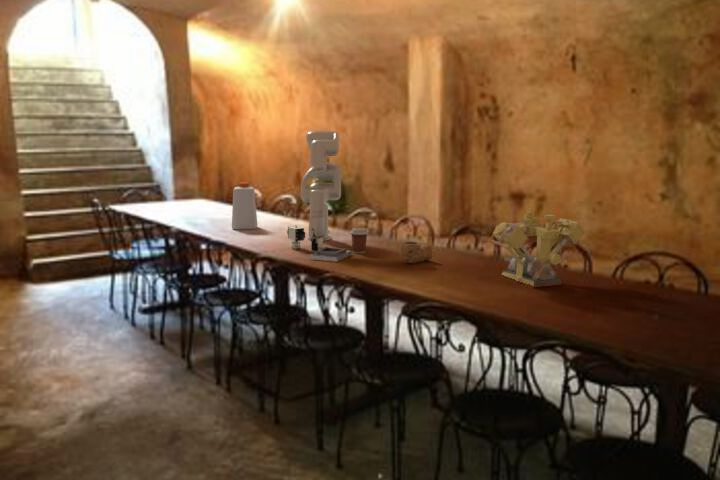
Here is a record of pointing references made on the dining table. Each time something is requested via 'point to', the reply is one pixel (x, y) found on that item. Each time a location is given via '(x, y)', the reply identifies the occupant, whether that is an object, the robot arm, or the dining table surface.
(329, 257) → the motor base
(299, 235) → the pneumatic valve
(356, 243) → the coffee cup
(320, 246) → the pump
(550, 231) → the mechanical engine
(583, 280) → the dining table surface
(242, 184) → the plastic bottle
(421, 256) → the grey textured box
